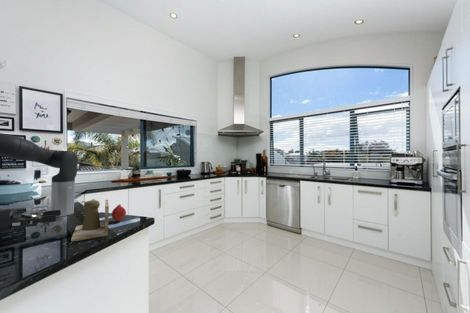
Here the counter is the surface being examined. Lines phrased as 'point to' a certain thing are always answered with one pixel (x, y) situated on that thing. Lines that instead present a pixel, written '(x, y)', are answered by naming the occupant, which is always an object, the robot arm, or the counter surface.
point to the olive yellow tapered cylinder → (91, 215)
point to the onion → (118, 213)
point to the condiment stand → (99, 232)
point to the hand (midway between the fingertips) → (58, 215)
